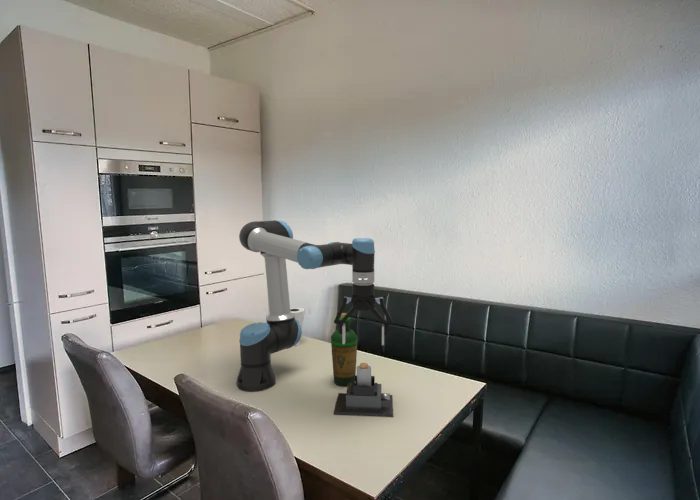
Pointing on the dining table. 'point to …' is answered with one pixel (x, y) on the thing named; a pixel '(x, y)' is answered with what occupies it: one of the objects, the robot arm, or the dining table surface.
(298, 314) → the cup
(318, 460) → the dining table surface
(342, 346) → the bottle
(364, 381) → the grey cylinder with ball
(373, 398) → the stepped square mount
